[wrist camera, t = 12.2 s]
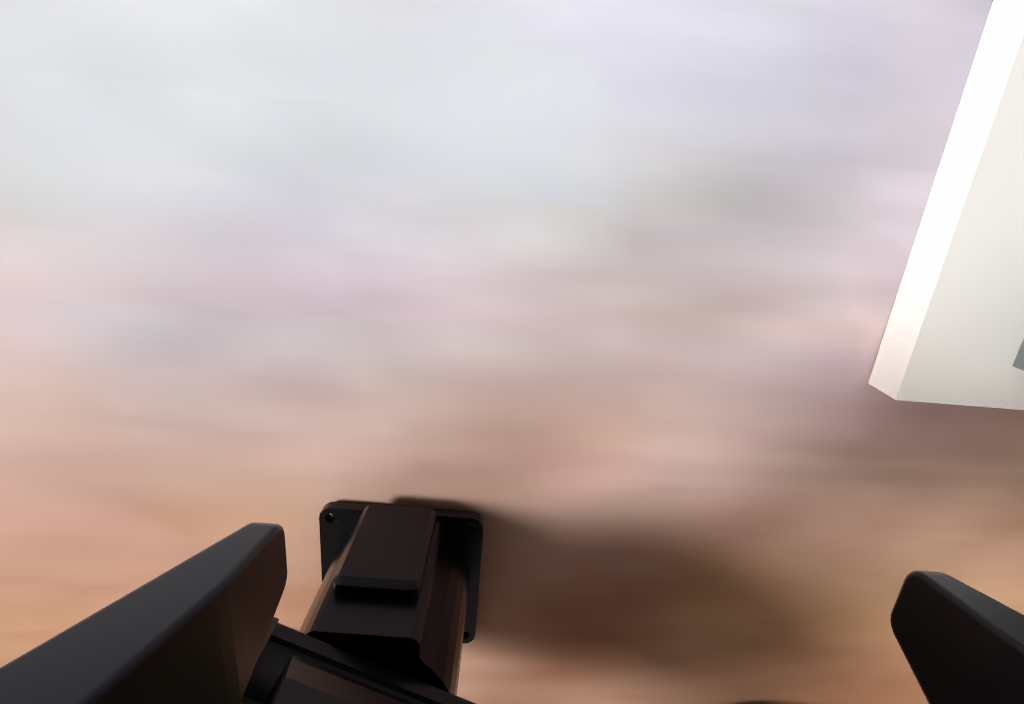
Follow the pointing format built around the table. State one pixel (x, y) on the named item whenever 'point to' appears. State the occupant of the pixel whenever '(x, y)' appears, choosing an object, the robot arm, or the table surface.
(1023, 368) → the block
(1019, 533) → the table surface
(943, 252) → the plate
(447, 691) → the robot arm
